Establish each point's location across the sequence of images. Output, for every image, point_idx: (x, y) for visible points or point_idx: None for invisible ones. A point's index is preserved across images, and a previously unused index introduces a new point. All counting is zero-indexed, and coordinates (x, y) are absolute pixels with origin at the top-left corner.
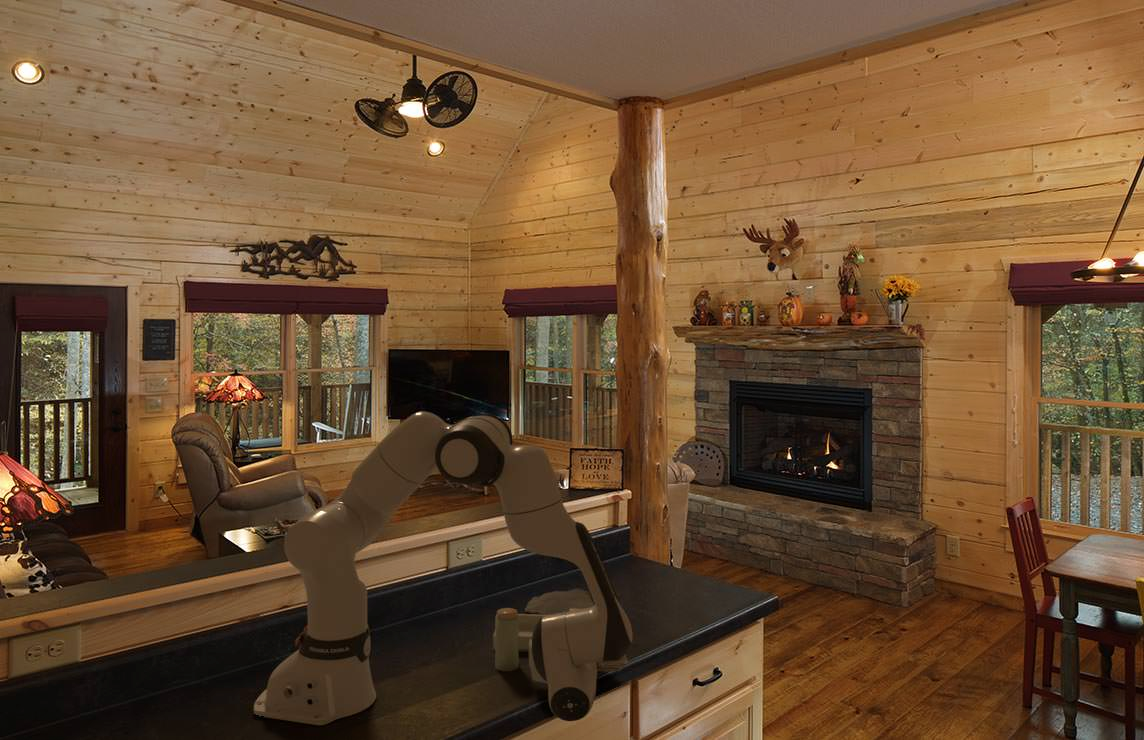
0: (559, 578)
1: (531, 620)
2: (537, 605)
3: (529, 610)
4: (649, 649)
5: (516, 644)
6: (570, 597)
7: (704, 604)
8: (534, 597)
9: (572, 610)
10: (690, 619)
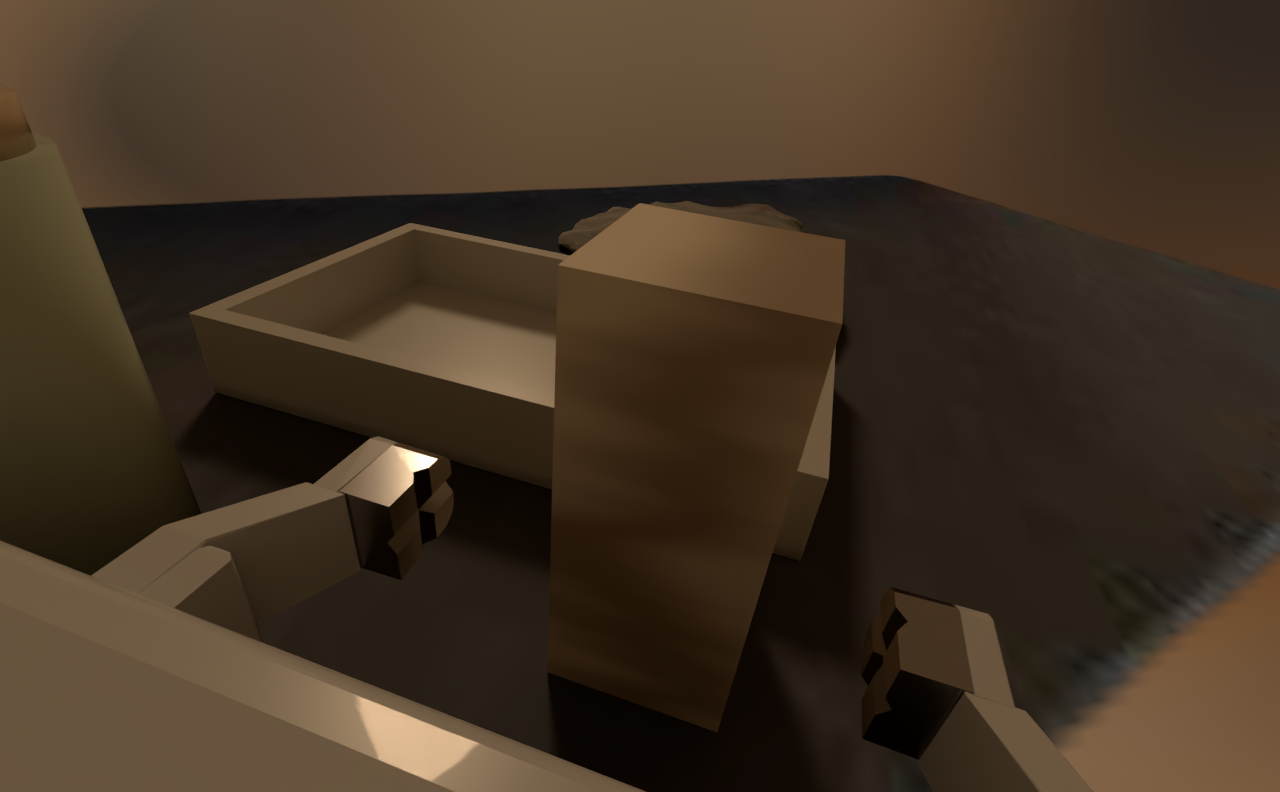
0: (720, 186)
1: (523, 273)
2: (603, 228)
3: (570, 241)
4: (1166, 592)
5: (32, 452)
6: None
7: (1237, 334)
8: (614, 208)
9: (652, 221)
10: (1243, 394)
